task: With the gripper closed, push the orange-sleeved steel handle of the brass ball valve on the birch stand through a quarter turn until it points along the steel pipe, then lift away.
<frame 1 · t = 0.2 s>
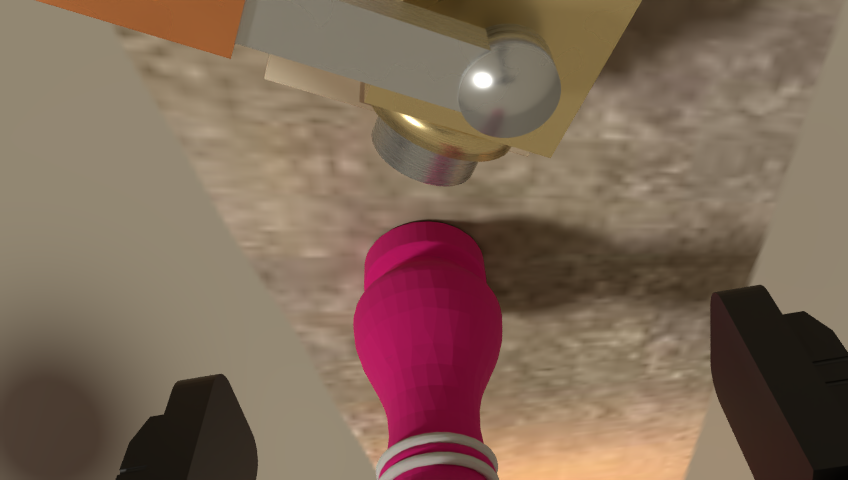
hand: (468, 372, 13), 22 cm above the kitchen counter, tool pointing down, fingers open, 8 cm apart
ball valve: (489, 10, 26), point 7 cm above the kitchen counter
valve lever: (312, 19, 21), point 11 cm above the kitchen counter, hinge at 0.0°
pepper mill: (424, 262, 43), on the kitchen counter
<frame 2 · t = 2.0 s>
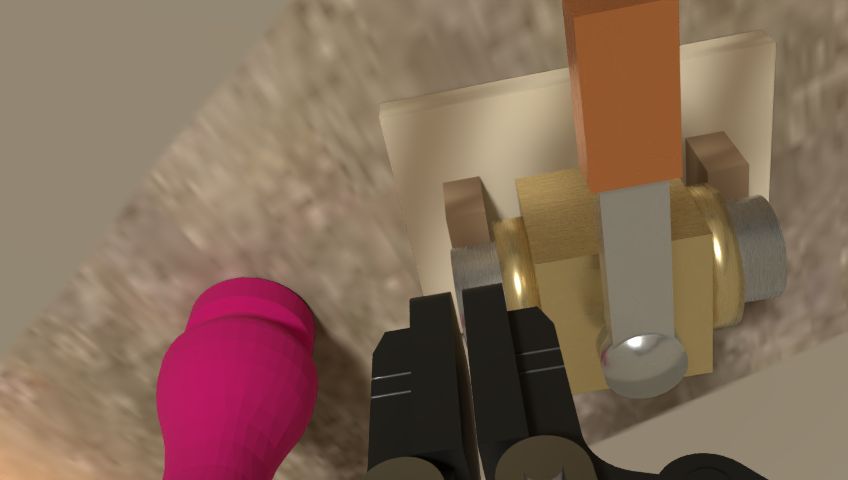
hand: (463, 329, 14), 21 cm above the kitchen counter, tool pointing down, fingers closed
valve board: (579, 189, 37), on the kitchen counter
ball valve: (612, 277, 31), point 7 cm above the kitchen counter
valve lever: (632, 220, 25), point 11 cm above the kitchen counter, hinge at 0.0°
pepper mill: (254, 322, 41), on the kitchen counter
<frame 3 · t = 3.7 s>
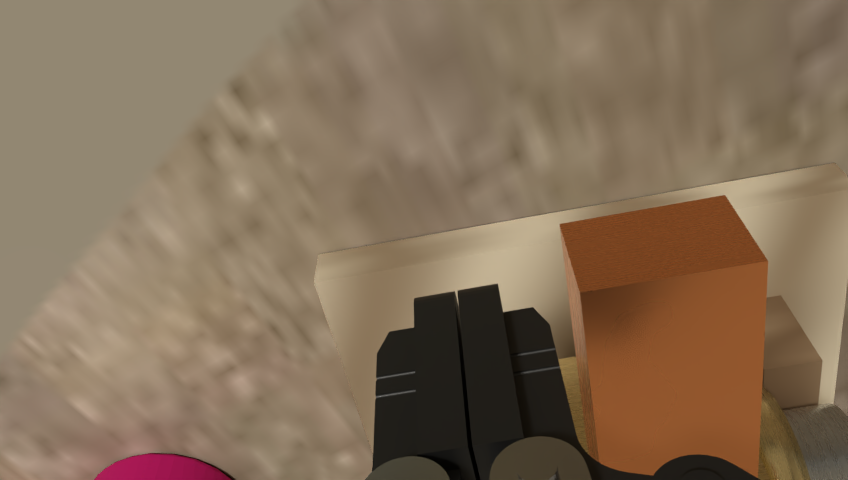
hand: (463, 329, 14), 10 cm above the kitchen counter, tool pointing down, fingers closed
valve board: (585, 353, 28), on the kitchen counter
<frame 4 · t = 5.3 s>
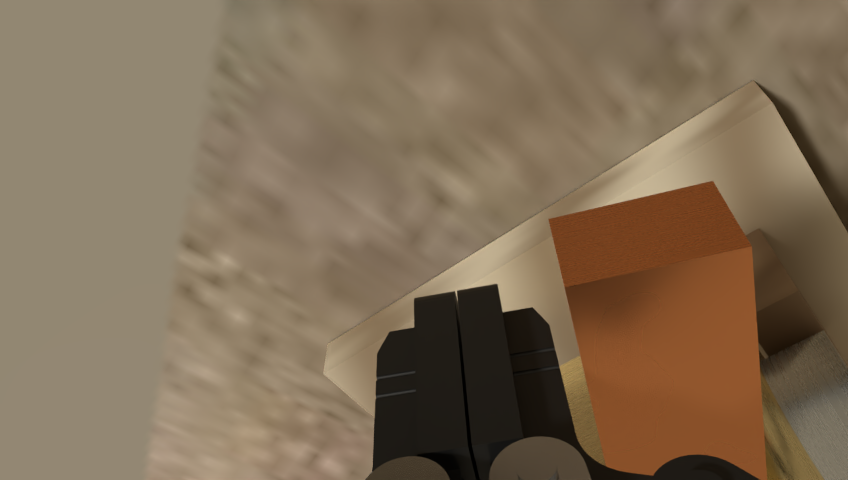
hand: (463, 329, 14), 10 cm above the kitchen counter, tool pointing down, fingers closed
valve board: (614, 340, 28), on the kitchen counter
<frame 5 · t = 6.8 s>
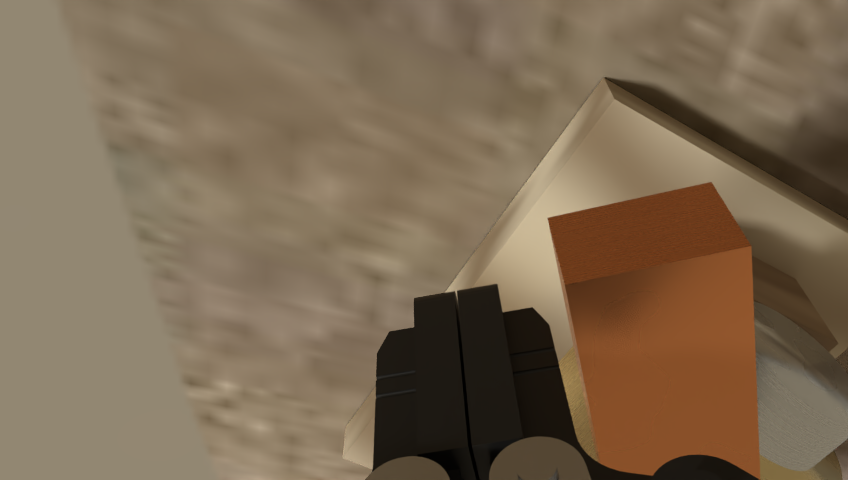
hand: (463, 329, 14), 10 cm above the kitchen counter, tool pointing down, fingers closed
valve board: (602, 345, 28), on the kitchen counter
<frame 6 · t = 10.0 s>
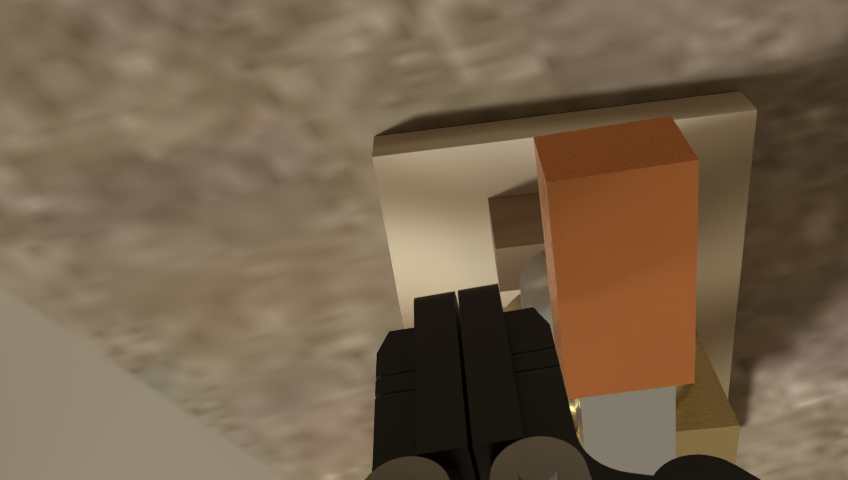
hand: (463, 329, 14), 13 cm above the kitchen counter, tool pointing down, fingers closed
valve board: (563, 306, 31), on the kitchen counter
ball valve: (598, 441, 25), point 7 cm above the kitchen counter
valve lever: (623, 419, 18), point 11 cm above the kitchen counter, hinge at 87.9°
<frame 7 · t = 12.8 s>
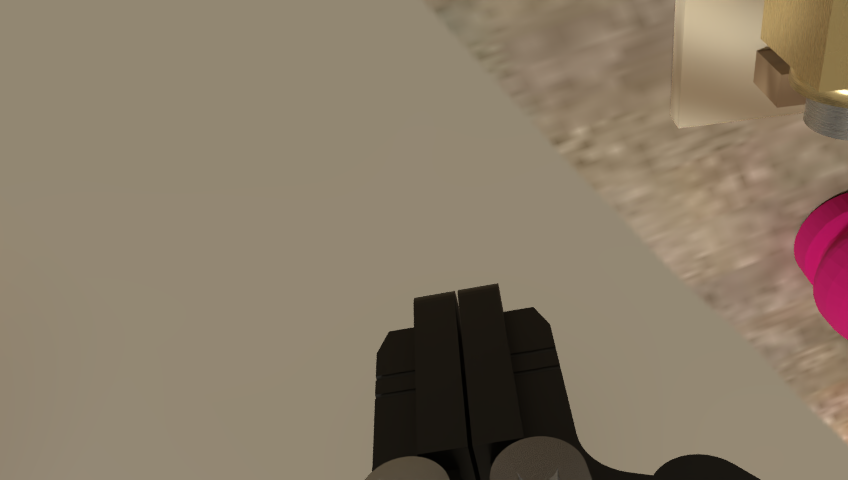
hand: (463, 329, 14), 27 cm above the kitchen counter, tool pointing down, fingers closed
pepper mill: (846, 233, 46), on the kitchen counter
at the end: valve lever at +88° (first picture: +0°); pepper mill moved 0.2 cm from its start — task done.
